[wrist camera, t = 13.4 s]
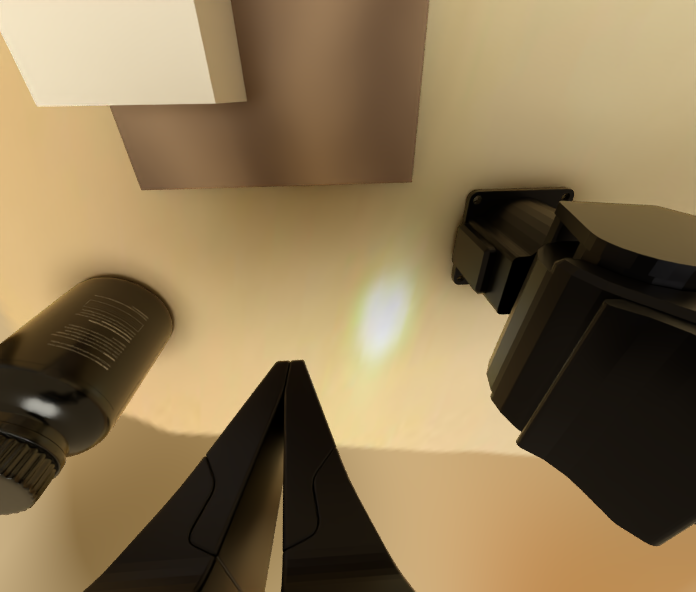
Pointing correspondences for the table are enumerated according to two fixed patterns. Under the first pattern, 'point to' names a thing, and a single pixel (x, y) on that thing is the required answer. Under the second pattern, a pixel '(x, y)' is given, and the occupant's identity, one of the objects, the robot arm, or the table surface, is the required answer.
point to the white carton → (125, 51)
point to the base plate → (296, 102)
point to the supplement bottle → (72, 379)
